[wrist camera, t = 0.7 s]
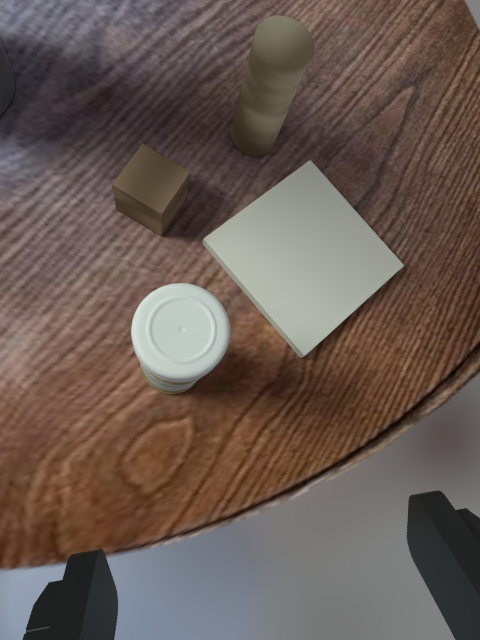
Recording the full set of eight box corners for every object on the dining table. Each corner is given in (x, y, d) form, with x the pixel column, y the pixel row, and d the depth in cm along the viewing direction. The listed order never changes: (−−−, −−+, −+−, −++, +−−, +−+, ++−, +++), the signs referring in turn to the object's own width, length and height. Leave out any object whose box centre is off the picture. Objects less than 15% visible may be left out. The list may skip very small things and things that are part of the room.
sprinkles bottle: (166, 322, 34) (173, 261, 21) (214, 359, 34) (251, 320, 21) (127, 371, 32) (108, 337, 19) (177, 408, 32) (191, 400, 19)
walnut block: (116, 210, 35) (111, 184, 31) (143, 173, 36) (142, 143, 32) (161, 236, 35) (161, 214, 31) (186, 198, 36) (190, 172, 32)
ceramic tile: (202, 243, 35) (203, 238, 35) (306, 166, 39) (310, 159, 38) (300, 358, 35) (304, 356, 34) (397, 269, 38) (404, 265, 37)
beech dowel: (220, 130, 38) (242, 32, 29) (254, 107, 39) (286, 6, 30) (250, 164, 38) (282, 77, 28) (284, 141, 39) (325, 49, 29)
